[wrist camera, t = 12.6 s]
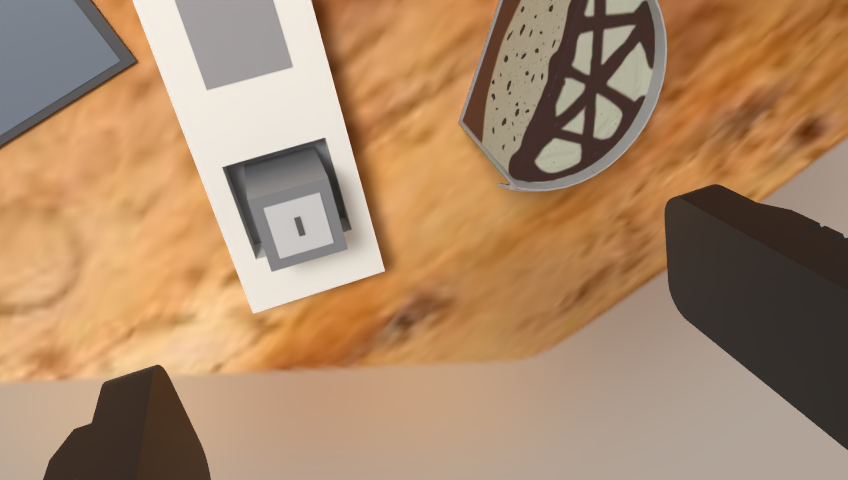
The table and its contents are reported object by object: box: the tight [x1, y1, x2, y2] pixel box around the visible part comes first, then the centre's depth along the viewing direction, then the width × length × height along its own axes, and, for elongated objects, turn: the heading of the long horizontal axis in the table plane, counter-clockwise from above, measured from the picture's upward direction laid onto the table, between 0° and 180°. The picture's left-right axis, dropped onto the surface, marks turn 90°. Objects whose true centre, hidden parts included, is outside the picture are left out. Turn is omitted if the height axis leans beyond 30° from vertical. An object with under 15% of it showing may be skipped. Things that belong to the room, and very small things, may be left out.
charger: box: [244, 146, 348, 272], centre depth 36 cm, size 4×4×6 cm
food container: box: [458, 0, 667, 192], centre depth 36 cm, size 12×6×10 cm, turn 161°
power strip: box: [133, 0, 385, 314], centre depth 35 cm, size 26×8×4 cm, turn 12°
